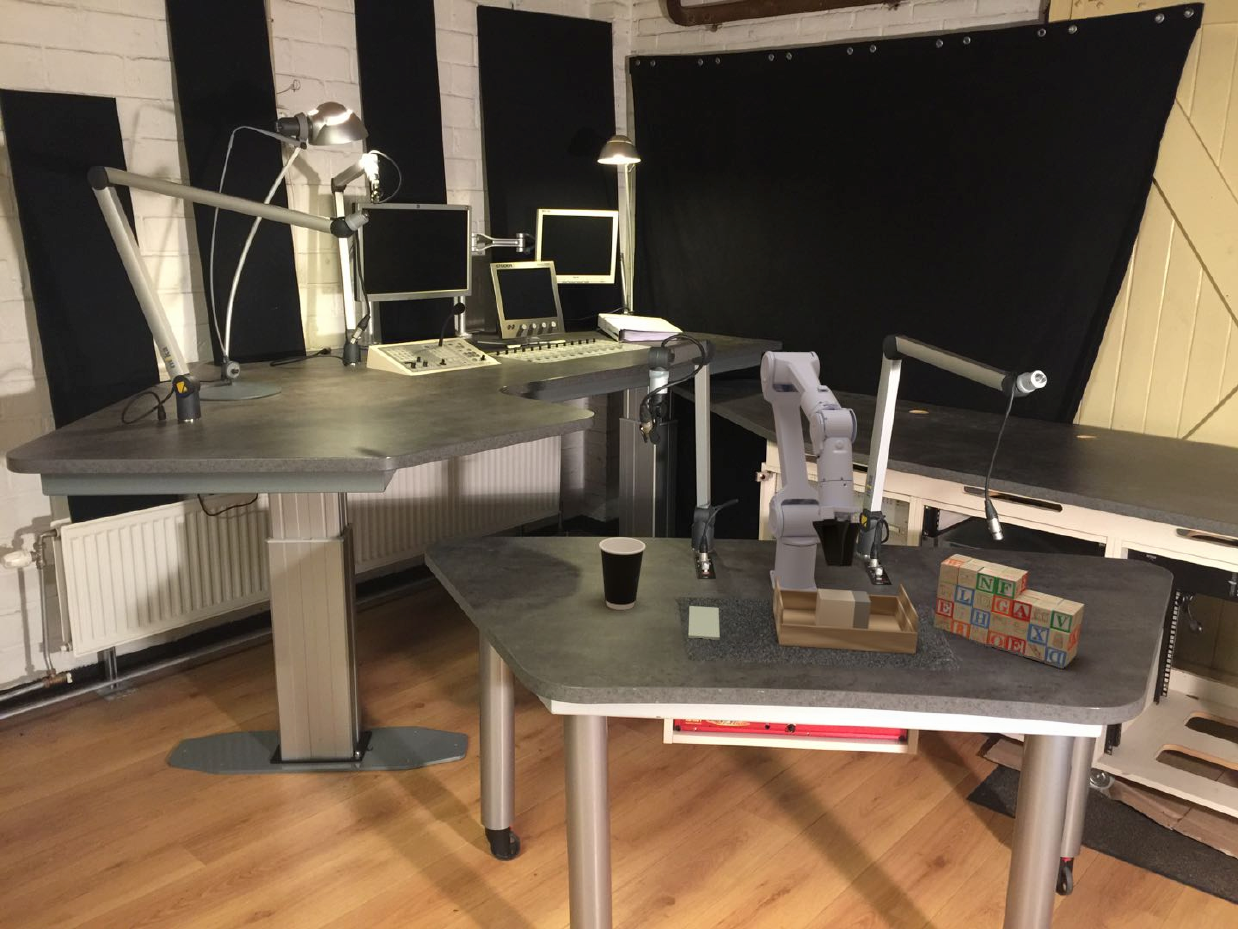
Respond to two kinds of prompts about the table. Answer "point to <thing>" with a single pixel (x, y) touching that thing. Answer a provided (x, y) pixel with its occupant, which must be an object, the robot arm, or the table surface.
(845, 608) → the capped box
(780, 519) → the robot arm
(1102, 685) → the table surface
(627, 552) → the dixie cup
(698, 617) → the panel
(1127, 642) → the table surface
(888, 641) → the wooden crate
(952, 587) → the stack of blocks
